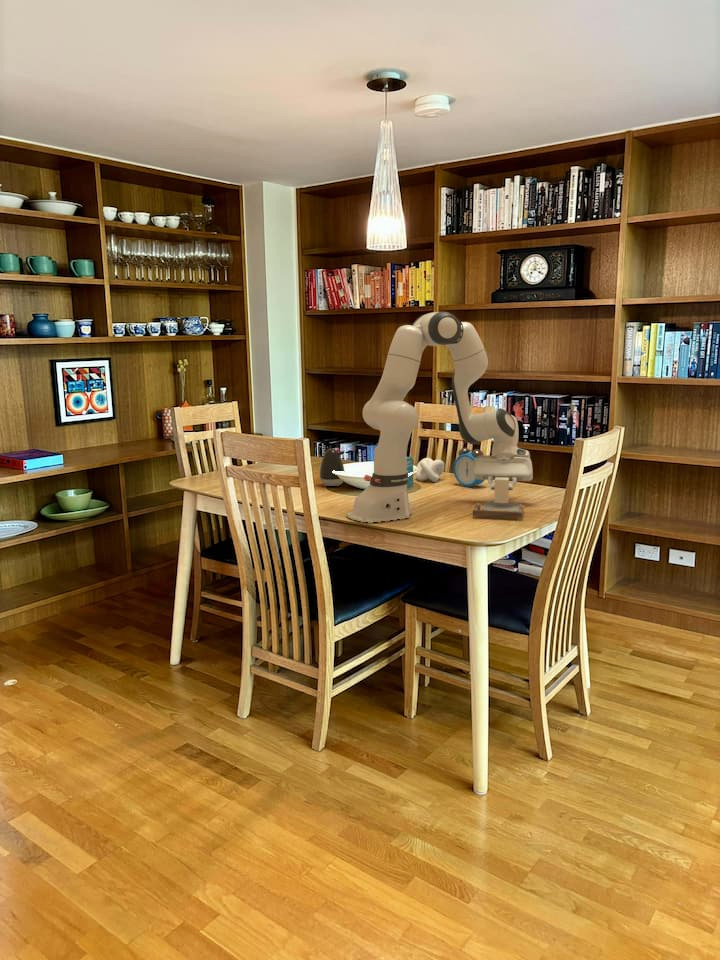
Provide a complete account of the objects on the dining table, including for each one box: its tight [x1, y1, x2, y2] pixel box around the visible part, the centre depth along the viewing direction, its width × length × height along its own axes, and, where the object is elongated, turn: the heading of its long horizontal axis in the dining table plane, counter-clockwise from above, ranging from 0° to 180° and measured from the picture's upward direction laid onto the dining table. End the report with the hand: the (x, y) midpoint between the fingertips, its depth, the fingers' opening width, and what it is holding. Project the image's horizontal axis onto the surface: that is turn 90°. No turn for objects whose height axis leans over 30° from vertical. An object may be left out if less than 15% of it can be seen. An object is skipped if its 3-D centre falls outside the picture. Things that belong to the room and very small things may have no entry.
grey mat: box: [481, 500, 521, 512], centre depth 254 cm, size 12×12×2 cm
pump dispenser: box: [319, 448, 345, 487], centre depth 298 cm, size 10×10×15 cm
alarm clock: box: [452, 447, 485, 488], centre depth 293 cm, size 13×6×15 cm, turn 44°
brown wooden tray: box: [472, 502, 525, 522], centre depth 242 cm, size 12×15×4 cm
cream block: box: [493, 477, 510, 503], centre depth 253 cm, size 4×4×8 cm
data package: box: [407, 456, 414, 489], centre depth 291 cm, size 12×4×12 cm, turn 147°
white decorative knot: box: [415, 457, 445, 483], centre depth 304 cm, size 11×12×9 cm
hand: (501, 489), depth 252 cm, fingers closed on cream block, 4 cm apart
